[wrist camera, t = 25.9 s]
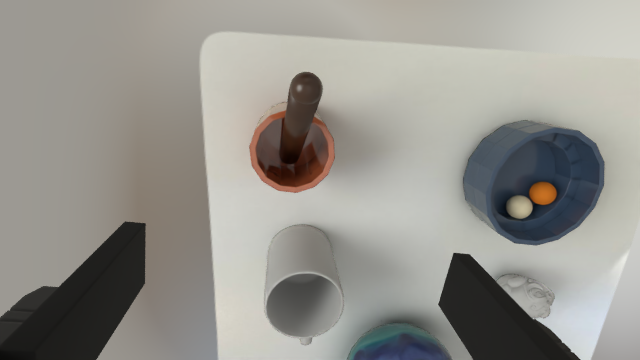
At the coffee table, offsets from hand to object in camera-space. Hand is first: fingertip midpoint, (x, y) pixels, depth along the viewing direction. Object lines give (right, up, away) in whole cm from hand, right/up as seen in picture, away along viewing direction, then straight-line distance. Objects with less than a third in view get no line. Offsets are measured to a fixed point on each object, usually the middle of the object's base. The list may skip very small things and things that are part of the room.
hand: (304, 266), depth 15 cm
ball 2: (+29, +2, +30) cm, 42 cm away
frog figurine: (+28, -11, +37) cm, 47 cm away
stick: (-3, +6, +27) cm, 28 cm away
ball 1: (+26, 0, +31) cm, 40 cm away
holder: (-3, +9, +27) cm, 29 cm away
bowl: (+26, +4, +31) cm, 41 cm away
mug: (-2, -8, +33) cm, 34 cm away
